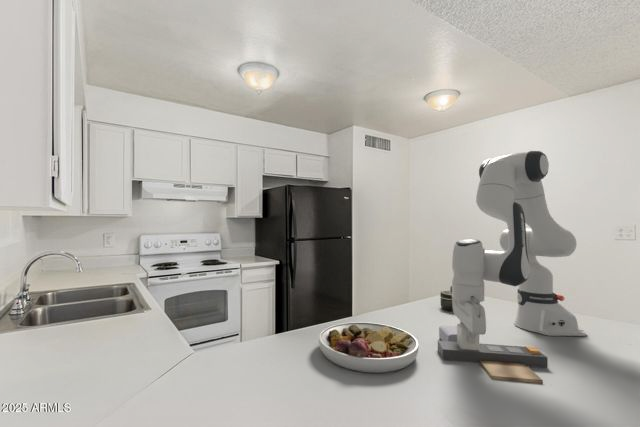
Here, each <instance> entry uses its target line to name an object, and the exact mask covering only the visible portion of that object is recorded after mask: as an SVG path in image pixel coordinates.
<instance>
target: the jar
mask: <svg viewBox="0 0 640 427" xmlns="http://www.w3.org/2000/svg"><path fill="white" fill-rule="evenodd" d="M439 296H440V307H441V309H442V310H444V311H447V312H453V306H452V293H451V292H450V290H443V291H440V295H439Z"/></svg>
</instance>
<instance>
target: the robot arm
mask: <svg viewBox="0 0 640 427" xmlns="http://www.w3.org/2000/svg"><path fill="white" fill-rule="evenodd" d="M549 166H550V165H549V160H548V157H547V155H546V154H545V153H543V151H540V150H529V151H526V152H525V151H524V152H515V153H509V154H506V155H501V156H497V157H491V158H488V159H486V160H483V162H482V163H481V164H480V166H479V169H478V177H479V181H478V187H477V192H476V197H475V198H476V201H475V202H476V204H477V207H478V208H479V210H480V211H481V212H483V213H484V214H485V215H488V216H489V217H491V218H494V219H497V220H500V221H502V222H505V223H506V225H507V228H506V229H504V230H503V231H502V232H501V234H500V236H499V246H500V247H501V249H502V250H492V249H485V248H484V246H483V242H482V241H481V240H479V239H476V238H475V239H474V238H473V239H472V238H468V239H460V240H457V241H455V243H454V246H453V252H452V262H451V263H452V264H451V267H452V271H453V278H452V282H451V283H452V284H451V285H450V287H449V291H450V292H451V293H452V306H453V311H452V312H453V314H454V316H455V317H456V318H457V319H458V320H459V324H464V325H465V326H466V327H467V328H468V336H467V341H468V342H469V343H470V344H475V338H476V335H477V334H479V335H483V336H484V335H486V332H487V321H486V320H487V318H486V317H487V316H486V311H485V307H484V306H483V305H482V304H481V303H482V302H484V301H485V281H488V282H495V283H501V284H504V285H506V286H507V285H508V286H512V287H518V288H517V294H516V296H517V297H516V298H517V299H516V300H517V310H516V315H515V320H514V322H513V324H514V326H515V327H518V328H520V329H523V330H525V331H530V332H532V333H533V332H534V333H537V334H538V333H539V334H542V335H544V336H550V337H551V336H554V337H555V336H557V337H558V336H559V337H560V336H562V337H563V336H564V337H566V336H567V337H570V336H571V337H572V336H573V337H574V336H575V337H578V336H581V337H585V336H587V332H586V330H584V329H583V328H581V327H579V323H578V320H577V318H576V317H577V316H576V315H575V314H574V313H572V312H571V311H569V310H568V309H567V308H566V307H565V306H563V305H562V304H560V303H559V301H560V302H563V301H565V297H564V295H561V294H557V293H555V292H554V291H553V290H554V287H553V286H554V285H553V284H554V278H553V276H554V275H553V272H552V271H551V270H550V269H549V268H548V267H546V266H544V265H542V264H541V263H539V261H538V259H537V257H544V258H545V257H546V258H561V257H565V258H566V257H570V256H572V254H573V253H574V252H575V251H576V248H577V240H576V237H575V235H574V234H573V233H572V232H571V231H570V230H568V229H566V228H564V227H562V226H561V225H560V224H558V222H556V220H555V219H554V218H553V217H552V215H551V213H550V211H549V208H548V203H547V200H546V195H545V189H544V186H543V181H542V180H543V179H544V178H545V177H546V176H547V174H548V173H549ZM526 226H528V227H526Z"/></svg>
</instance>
